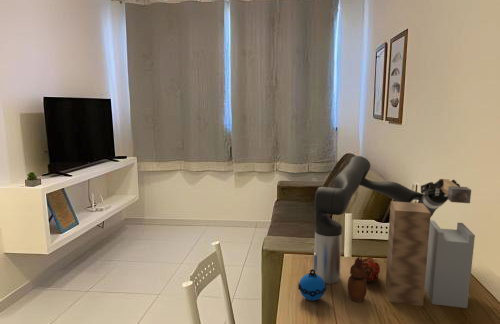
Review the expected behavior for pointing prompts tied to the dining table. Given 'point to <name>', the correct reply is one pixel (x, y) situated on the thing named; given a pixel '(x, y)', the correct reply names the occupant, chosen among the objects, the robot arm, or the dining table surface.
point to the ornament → (312, 286)
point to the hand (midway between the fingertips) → (448, 182)
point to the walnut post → (407, 252)
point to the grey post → (449, 265)
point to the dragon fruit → (370, 269)
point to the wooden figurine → (357, 281)
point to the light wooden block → (456, 192)
